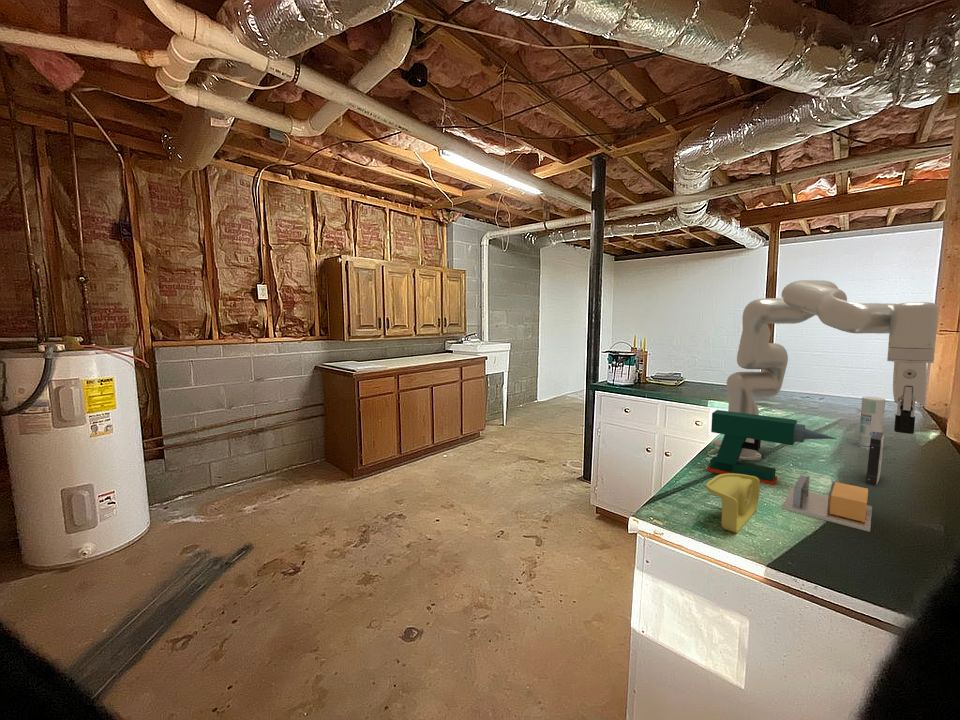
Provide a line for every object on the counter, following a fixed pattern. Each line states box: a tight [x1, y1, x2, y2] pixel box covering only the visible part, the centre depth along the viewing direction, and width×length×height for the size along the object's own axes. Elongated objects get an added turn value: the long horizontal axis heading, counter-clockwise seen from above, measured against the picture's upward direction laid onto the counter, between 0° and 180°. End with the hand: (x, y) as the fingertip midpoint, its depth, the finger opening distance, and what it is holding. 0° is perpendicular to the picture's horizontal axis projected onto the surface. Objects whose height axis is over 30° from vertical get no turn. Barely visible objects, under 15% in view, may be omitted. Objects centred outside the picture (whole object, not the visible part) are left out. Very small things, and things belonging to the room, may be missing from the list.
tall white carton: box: [858, 396, 886, 450], centre depth 159 cm, size 6×6×20 cm
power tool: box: [707, 409, 838, 486], centre depth 127 cm, size 32×7×20 cm, turn 47°
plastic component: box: [705, 473, 761, 534], centre depth 104 cm, size 20×7×10 cm, turn 133°
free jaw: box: [827, 481, 869, 522], centre depth 105 cm, size 7×12×5 cm, turn 135°
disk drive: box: [865, 432, 885, 486], centre depth 127 cm, size 10×3×15 cm, turn 133°
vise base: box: [781, 474, 873, 533], centre depth 108 cm, size 17×16×6 cm
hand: (903, 432), depth 97 cm, fingers closed
